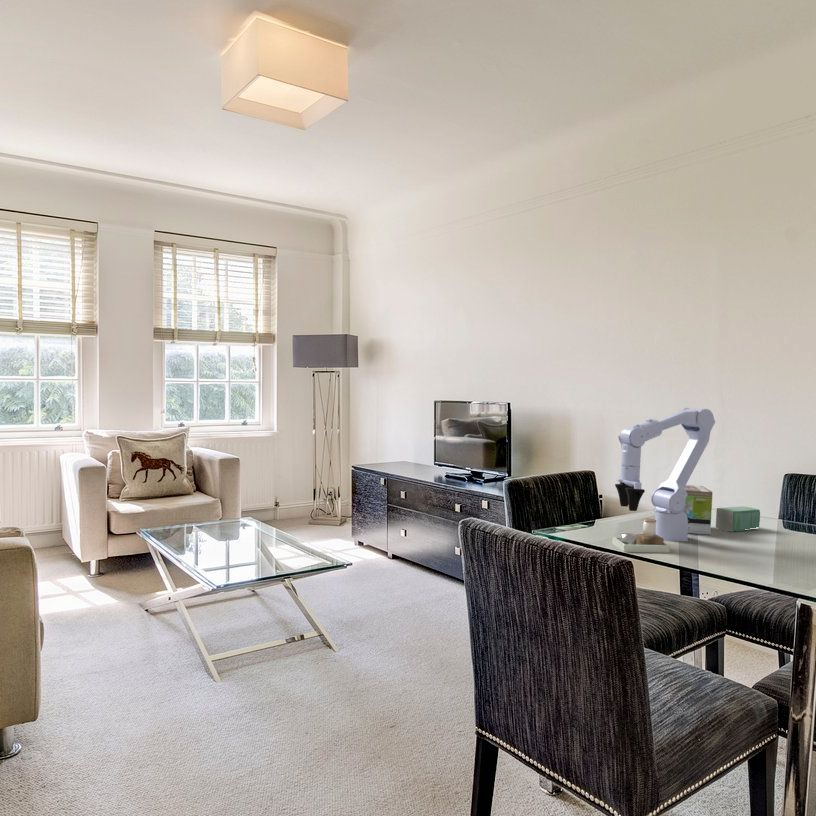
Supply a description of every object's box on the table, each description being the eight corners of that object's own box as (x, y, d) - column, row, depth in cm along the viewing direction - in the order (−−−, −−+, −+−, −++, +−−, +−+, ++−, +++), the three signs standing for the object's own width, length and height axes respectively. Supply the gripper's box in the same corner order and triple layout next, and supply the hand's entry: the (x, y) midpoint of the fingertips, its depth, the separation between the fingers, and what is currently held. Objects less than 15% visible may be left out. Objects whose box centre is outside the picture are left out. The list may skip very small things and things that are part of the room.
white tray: (655, 545, 211) (656, 537, 211) (669, 553, 200) (669, 545, 200) (612, 544, 210) (612, 537, 210) (623, 552, 200) (624, 545, 200)
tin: (633, 545, 207) (633, 533, 207) (638, 549, 203) (638, 536, 203) (618, 545, 207) (619, 532, 207) (623, 549, 203) (624, 536, 203)
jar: (640, 534, 207) (641, 518, 207) (653, 534, 207) (653, 518, 207) (644, 537, 203) (645, 520, 203) (657, 537, 203) (658, 521, 203)
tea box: (711, 535, 227) (713, 491, 226) (679, 533, 229) (681, 489, 228) (701, 525, 242) (703, 484, 241) (671, 524, 244) (673, 483, 243)
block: (655, 545, 208) (655, 534, 208) (663, 550, 202) (663, 538, 202) (635, 545, 208) (636, 533, 208) (643, 550, 202) (643, 538, 202)
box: (760, 529, 237) (761, 508, 237) (732, 532, 232) (733, 511, 231) (742, 525, 244) (742, 505, 244) (715, 528, 238) (715, 507, 238)
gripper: (610, 462, 221) (608, 504, 222) (626, 468, 207) (624, 512, 207) (631, 463, 222) (629, 504, 222) (649, 469, 207) (646, 513, 208)
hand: (628, 508), depth 215 cm, fingers open, 7 cm apart
